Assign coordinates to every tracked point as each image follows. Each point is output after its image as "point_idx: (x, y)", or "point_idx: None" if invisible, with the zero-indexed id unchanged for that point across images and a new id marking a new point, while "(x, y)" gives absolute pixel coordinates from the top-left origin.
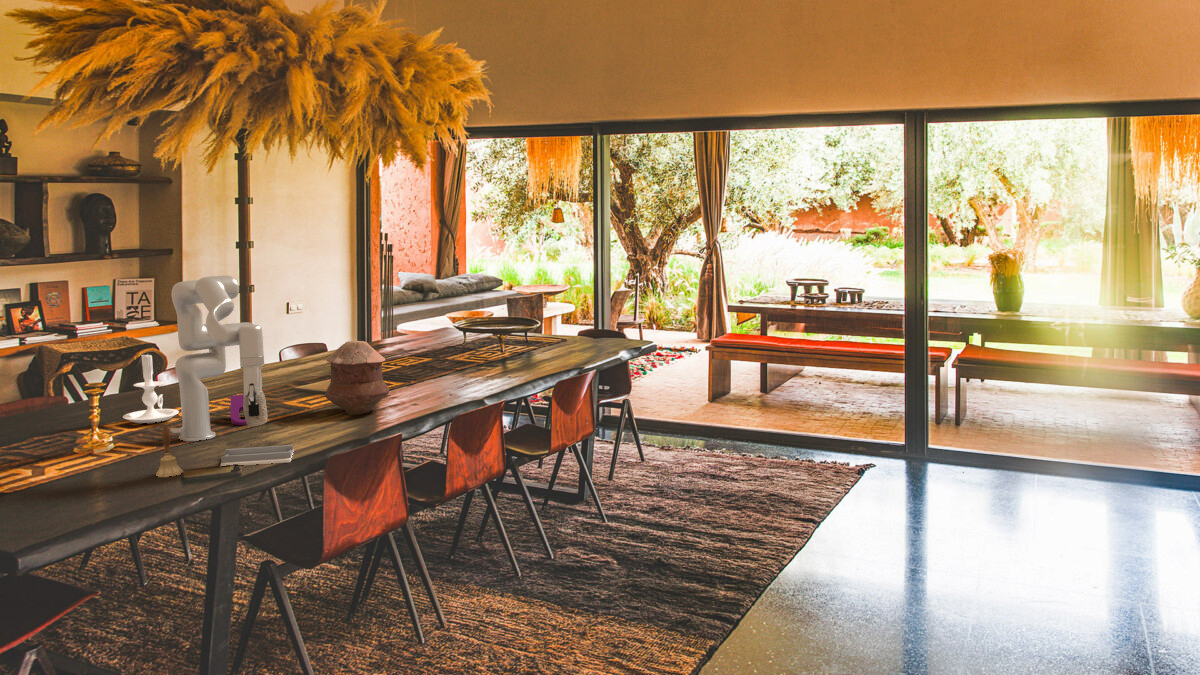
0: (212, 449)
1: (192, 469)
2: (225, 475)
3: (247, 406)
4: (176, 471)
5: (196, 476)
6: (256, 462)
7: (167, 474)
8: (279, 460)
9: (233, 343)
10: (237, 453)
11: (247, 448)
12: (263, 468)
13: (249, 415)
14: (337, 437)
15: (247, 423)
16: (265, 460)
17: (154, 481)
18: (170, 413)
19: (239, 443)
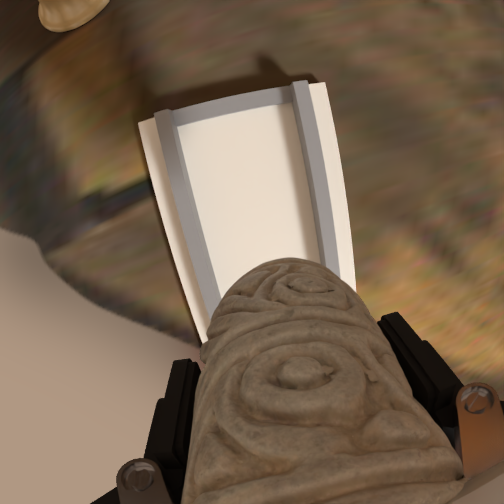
0: (424, 15)
1: (120, 30)
2: (43, 198)
3: (194, 414)
4: (51, 20)
5: (34, 100)
6: (175, 262)
7: (39, 10)
8: (201, 338)
9: None
10: (300, 136)
11: (315, 183)
12: (130, 299)
13: (174, 365)
14: (473, 373)
15: (241, 278)
16: (194, 292)
17: (11, 12)
18: None
19: (491, 98)
